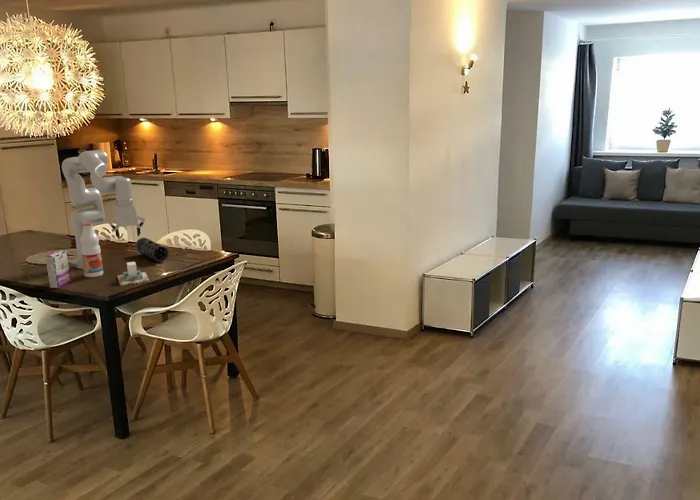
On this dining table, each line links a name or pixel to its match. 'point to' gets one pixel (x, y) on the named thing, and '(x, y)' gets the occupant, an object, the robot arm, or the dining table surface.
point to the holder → (132, 278)
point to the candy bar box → (58, 269)
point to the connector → (131, 269)
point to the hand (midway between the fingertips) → (128, 236)
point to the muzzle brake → (152, 249)
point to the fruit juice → (91, 252)
